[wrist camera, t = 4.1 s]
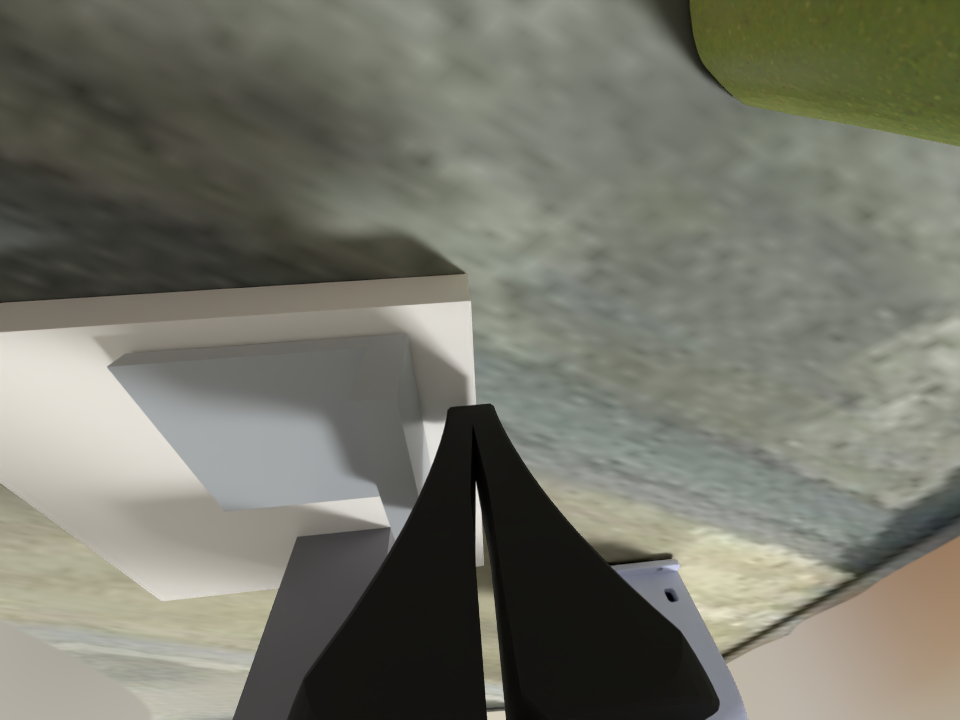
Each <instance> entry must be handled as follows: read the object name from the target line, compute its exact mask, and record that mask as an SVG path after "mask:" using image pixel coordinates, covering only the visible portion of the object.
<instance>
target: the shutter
mask: <svg viewBox="0 0 960 720" xmlns="http://www.w3.org/2000/svg"><path fill="white" fill-rule="evenodd" d="M107 368H108V369H109V371H110V372H111V373H112V374H113V375H114V377H115V378H116V379H117V380H118V382H119V383H120V384H121V385H122V386H123V388H124V389H125V390H126V391H127V393H128V394H129V395H130V396H131V397H132V399H133V400H134V401H135V402H136V404H137V405H138V406H139V407H140V408H141V410H142V411H143V412H144V413H145V415H146V416H147V417H148V418H149V420H150V421H151V422H152V423H153V424H154V426H155V427H156V428H157V429H158V431H159V432H160V433H161V434H162V435H163V437H164V438H165V439H166V440H167V442H168V443H169V444H170V445H171V446H172V448H173V449H174V450H175V451H176V453H177V454H178V455H179V456H180V458H181V459H182V460H183V461H184V462H185V464H186V465H187V466H188V467H189V469H190V470H191V471H192V472H193V473H194V475H195V476H196V477H197V478H198V480H199V481H200V482H201V483H202V484H203V486H204V487H205V488H206V489H207V491H208V492H209V493H210V494H211V495H212V497H213V498H214V499H215V500H216V502H217V503H218V504H219V505H220V507H221V508H222V509H223V510H224V511H235V510H246V509H256V508H266V507H277V506H287V505H297V504H307V503H318V502H328V501H338V500H349V499H359V498H369V497H380V498H381V501H382V504H383V507H384V510H385V513H386V516H387V519H388V521H389V524H390V527H391V530H392V533H393V536H394V539H395V541H396V539H397V537H398V536H399V534H400V532H401V530H402V528H403V527H404V525H405V523H406V521H407V519H408V517H409V515H410V513H411V511H412V509H413V507H414V505H415V503H416V501H417V499H418V497H419V494H420V492H421V490H422V488H423V485H424V483H425V481H426V478H427V476H428V474H429V471H430V469H431V464H430V459H429V453H428V447H427V442H426V436H425V430H424V425H423V419H422V414H421V408H420V402H419V397H418V391H417V385H416V380H415V374H414V368H413V363H412V357H411V351H410V346H409V340H408V335H407V334H393V335H378V336H364V337H350V338H336V339H322V340H308V341H294V342H280V343H266V344H252V345H238V346H224V347H210V348H196V349H182V350H168V351H154V352H140V353H126V354H124V355H122V356H121V357H119V358H118V359H117V360H115V361H114V362H113V363H111V364H110V365H108V366H107Z"/></svg>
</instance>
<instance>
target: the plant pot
mask: <svg viewBox="0 0 960 720" xmlns="http://www.w3.org/2000/svg"><path fill="white" fill-rule="evenodd" d="M690 14H691V21H692V30H693V35H694V39H695V43H696V47H697V51H698V54H699V56H700V58H701V60H702V62H703V64H704V66H705V67H706V68H707V69H708V70H709V71H710V73H711V74H712V75H713V76H714V77H715V78H716V79H717V80H718V81H719V83H720V84H721V85H722V86H723V87H724V88H725V89H726V90H727V91H728V92H729V93H730V94H732V95H733V96H734V97H735V98H737V99H738V100H739V101H740V102H742V103H743V104H746V105H749V106H753V107H758V108H763V109H768V110H773V111H779V112H784V113H789V114H794V115H799V116H805V117H810V118H816V119H822V120H828V121H834V122H839V123H845V124H850V125H855V126H861V127H866V128H871V129H876V130H881V131H886V132H891V133H896V134H901V135H906V136H911V137H916V138H921V139H926V140H931V141H936V142H941V143H946V144H951V145H956V146H960V0H690Z"/></svg>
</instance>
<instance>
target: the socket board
mask: <svg viewBox="0 0 960 720" xmlns="http://www.w3.org/2000/svg"><path fill="white" fill-rule="evenodd" d="M393 334H407V335H408V340H409V346H410V351H411V357H412V363H413V368H414V374H415V380H416V385H417V391H418V397H419V402H420V408H421V414H422V419H423V425H424V430H425V436H426V442H427V447H428V453H429V459H430V464H431V466H432V464H433V461H434V458H435V455H436V452H437V450H438V447H439V444H440V441H441V437H442V434H443V430H444V426H445V422H446V417H447V410H448V409H449V408H450V407H455V406H468V405H476V395H475V375H474V355H473V336H472V316H471V299H470V293H469V287H468V280H467V274H457V275H441V276H425V277H409V278H393V279H377V280H361V281H345V282H329V283H313V284H297V285H281V286H265V287H248V288H232V289H216V290H200V291H184V292H168V293H152V294H136V295H120V296H104V297H88V298H72V299H55V300H39V301H23V302H7V303H0V483H1V484H2V485H4V486H5V487H6V488H8V489H9V490H10V491H12V492H13V493H15V494H16V495H17V496H19V497H20V498H21V499H23V500H24V501H25V502H27V503H28V504H30V505H31V506H32V507H34V508H35V509H36V510H38V511H39V512H41V513H42V514H43V515H45V516H46V517H47V518H49V519H50V520H51V521H53V522H54V523H56V524H57V525H58V526H60V527H61V528H62V529H64V530H65V531H67V532H68V533H69V534H71V535H72V536H73V537H75V538H76V539H78V540H79V541H80V542H82V543H83V544H84V545H86V546H87V547H88V548H90V549H91V550H93V551H94V552H95V553H97V554H98V555H99V556H101V557H102V558H104V559H105V560H106V561H108V562H109V563H110V564H112V565H113V566H114V567H116V568H117V569H119V570H120V571H121V572H123V573H124V574H125V575H127V576H128V577H130V578H131V579H132V580H134V581H135V582H136V583H138V584H139V585H140V586H142V587H143V588H145V589H146V590H147V591H149V592H150V593H151V594H153V595H154V596H156V597H157V598H158V599H160V600H161V601H169V600H178V599H187V598H196V597H205V596H214V595H223V594H232V593H241V592H250V591H260V590H269V589H278V588H279V587H280V584H281V581H282V578H283V576H284V573H285V570H286V567H287V564H288V561H289V558H290V556H291V553H292V550H293V547H294V544H295V541H296V539H297V537H300V536H310V535H319V534H329V533H339V532H349V531H358V530H368V529H378V528H388V527H390V524H389V521H388V519H387V516H386V513H385V510H384V507H383V504H382V501H381V498H380V497H369V498H359V499H349V500H338V501H328V502H318V503H307V504H297V505H287V506H277V507H266V508H256V509H246V510H235V511H224V510H223V509H222V508H221V507H220V505H219V504H218V503H217V502H216V500H215V499H214V498H213V497H212V495H211V494H210V493H209V492H208V491H207V489H206V488H205V487H204V486H203V484H202V483H201V482H200V481H199V480H198V478H197V477H196V476H195V475H194V473H193V472H192V471H191V470H190V469H189V467H188V466H187V465H186V464H185V462H184V461H183V460H182V459H181V458H180V456H179V455H178V454H177V453H176V451H175V450H174V449H173V448H172V446H171V445H170V444H169V443H168V442H167V440H166V439H165V438H164V437H163V435H162V434H161V433H160V432H159V431H158V429H157V428H156V427H155V426H154V424H153V423H152V422H151V421H150V420H149V418H148V417H147V416H146V415H145V413H144V412H143V411H142V410H141V408H140V407H139V406H138V405H137V404H136V402H135V401H134V400H133V399H132V397H131V396H130V395H129V394H128V393H127V391H126V390H125V389H124V388H123V386H122V385H121V384H120V383H119V382H118V380H117V379H116V378H115V377H114V375H113V374H112V373H111V372H110V371H109V369H108V368H107V366H108V365H110V364H111V363H113V362H114V361H115V360H117V359H118V358H119V357H121V356H122V355H124V354H126V353H140V352H154V351H168V350H182V349H196V348H210V347H224V346H238V345H252V344H266V343H280V342H294V341H308V340H322V339H336V338H350V337H364V336H378V335H393ZM478 566H484V554H483V534H482V514H481V507H480V501H479V496H478V490H477V485H476V567H478Z"/></svg>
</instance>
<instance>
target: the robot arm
mask: <svg viewBox="0 0 960 720" xmlns="http://www.w3.org/2000/svg"><path fill="white" fill-rule="evenodd" d="M476 485H477V490H478V496H479V501H480V507H481V512H482V518H483V523H484V529H485V534H486V540H487V545H488V550H489V557H490V563H491V571H492V581H493V590H494V600H495V610H496V620H497V631H498V641H499V651H500V661H501V672H502V682H503V692H504V703H505V713H506V720H748V717H747V713H746V710H745V707H744V704H743V701H742V698H741V696H740V693H739V690H738V688H737V686H736V683H735V681H734V679H733V677H732V675H731V673H730V671H729V669H728V667H727V665H726V663H725V661H724V659H723V657H722V655H721V653H720V652H719V650H718V648H717V646H716V644H715V642H714V640H713V638H712V636H711V634H710V632H709V631H708V629H707V627H706V625H705V623H704V621H703V619H702V617H701V615H700V613H699V611H698V610H697V608H696V606H695V604H694V602H693V600H692V598H691V596H690V594H689V592H688V590H687V589H686V587H685V585H684V583H683V581H682V579H681V577H680V575H679V573H678V569H679V568H680V564H679V562H678V560H676V559H666V560H657V561H648V562H640V563H631V564H622V565H613V566H610V565H609V564H608V563H607V562H606V561H605V560H604V559H603V558H602V557H601V556H600V555H599V554H598V553H597V552H596V551H595V550H594V549H593V547H592V546H591V545H590V544H589V543H588V542H587V541H586V540H585V539H584V538H583V537H582V536H581V535H580V534H579V533H578V532H577V531H576V529H575V528H574V527H573V526H572V525H571V524H570V523H569V521H568V520H567V519H566V518H565V517H564V516H563V514H562V513H561V512H560V511H559V510H558V508H557V507H556V506H555V505H554V503H553V502H552V501H551V500H550V498H549V497H548V496H547V495H546V493H545V492H544V491H543V489H542V488H541V487H540V485H539V484H538V482H537V481H536V480H535V478H534V477H533V475H532V474H531V473H530V471H529V470H528V468H527V467H526V465H525V464H524V462H523V461H522V459H521V457H520V456H519V454H518V453H517V451H516V449H515V448H514V446H513V445H512V443H511V441H510V439H509V438H508V436H507V434H506V432H505V430H504V428H503V426H502V424H501V422H500V420H499V418H498V416H497V413H496V411H495V408H494V406H493V405H492V404H480V405H468V406H455V407H450V408H449V409H448V410H447V417H446V422H445V426H444V430H443V434H442V437H441V441H440V444H439V447H438V450H437V452H436V455H435V458H434V461H433V464H432V466H431V469H430V471H429V474H428V476H427V478H426V481H425V483H424V485H423V488H422V490H421V492H420V494H419V497H418V499H417V501H416V503H415V505H414V507H413V509H412V511H411V513H410V515H409V517H408V519H407V521H406V523H405V525H404V527H403V528H402V530H401V532H400V534H399V536H398V537H397V539H396V541H395V543H394V544H393V546H392V548H391V550H390V551H389V553H388V555H387V556H386V558H385V560H384V561H383V563H382V565H381V566H380V568H379V570H378V571H377V573H376V574H375V576H374V577H373V579H372V580H371V582H370V583H369V585H368V587H367V588H366V590H365V591H364V593H363V594H362V596H361V597H360V599H359V600H358V602H357V603H356V605H355V606H354V608H353V609H352V611H351V612H350V614H349V615H348V617H347V618H346V620H345V621H344V622H343V624H342V625H341V626H340V628H339V629H338V631H337V632H336V633H335V635H334V636H333V637H332V639H331V640H330V642H329V643H328V644H327V646H326V647H325V648H324V650H323V651H322V652H321V654H320V655H319V657H318V658H317V659H316V661H315V662H314V663H313V665H312V666H311V668H310V669H309V670H308V672H307V673H306V675H305V676H304V678H303V680H302V683H301V685H300V687H299V690H298V692H297V695H296V697H295V699H294V702H293V704H292V707H291V710H290V712H289V715H288V718H287V720H487V712H486V699H485V685H484V672H483V658H482V645H481V631H480V618H479V604H478V591H477V577H476Z"/></svg>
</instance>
